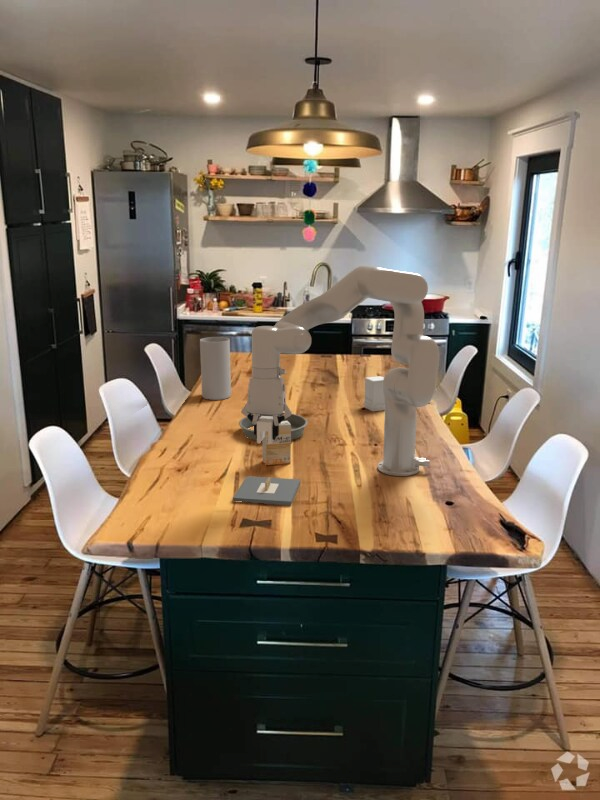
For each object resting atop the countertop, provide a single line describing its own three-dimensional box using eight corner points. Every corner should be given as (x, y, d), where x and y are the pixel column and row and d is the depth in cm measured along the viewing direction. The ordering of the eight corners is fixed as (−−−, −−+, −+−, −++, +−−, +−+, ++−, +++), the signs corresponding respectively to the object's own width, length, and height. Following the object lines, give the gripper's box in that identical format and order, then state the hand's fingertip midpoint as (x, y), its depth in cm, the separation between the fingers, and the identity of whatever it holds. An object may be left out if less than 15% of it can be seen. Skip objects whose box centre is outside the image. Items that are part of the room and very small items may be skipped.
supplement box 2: (388, 410, 271) (389, 379, 267) (372, 411, 268) (373, 381, 265) (379, 405, 277) (380, 375, 274) (363, 407, 275) (364, 377, 271)
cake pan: (225, 433, 242) (224, 421, 241) (275, 419, 258) (275, 408, 257) (270, 449, 225) (270, 436, 224) (321, 433, 241) (321, 421, 240)
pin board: (300, 483, 195) (300, 471, 194) (291, 505, 180) (291, 492, 179) (246, 480, 197) (246, 468, 197) (232, 501, 182) (232, 489, 181)
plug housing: (275, 437, 187) (275, 416, 186) (271, 444, 181) (271, 422, 180) (261, 436, 188) (261, 415, 186) (256, 443, 182) (256, 421, 180)
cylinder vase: (229, 400, 284) (227, 342, 278) (199, 400, 285) (197, 342, 278) (232, 393, 296) (231, 337, 290) (204, 393, 297) (202, 337, 290)
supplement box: (265, 466, 209) (265, 426, 205) (262, 461, 213) (261, 421, 210) (291, 463, 211) (291, 424, 207) (287, 458, 215) (287, 419, 212)
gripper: (299, 371, 182) (298, 435, 187) (239, 368, 185) (240, 432, 189) (294, 377, 175) (294, 444, 180) (232, 374, 177) (233, 440, 182)
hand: (266, 437), depth 184 cm, fingers closed on plug housing, 4 cm apart
